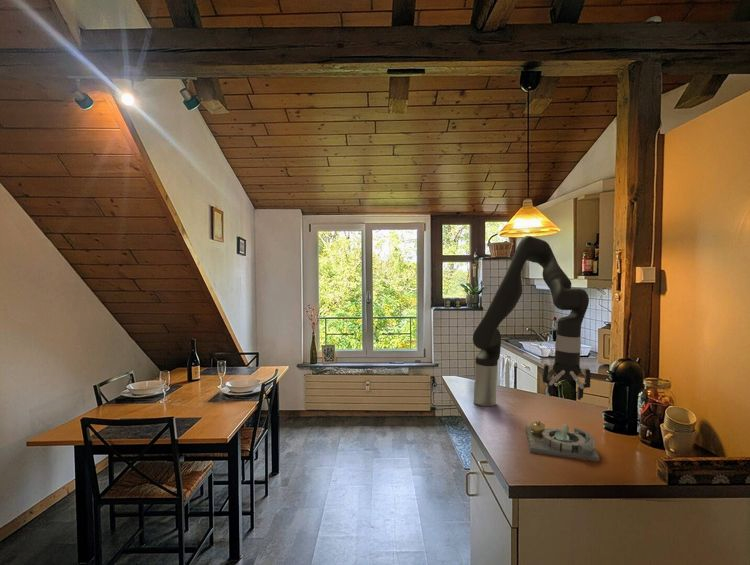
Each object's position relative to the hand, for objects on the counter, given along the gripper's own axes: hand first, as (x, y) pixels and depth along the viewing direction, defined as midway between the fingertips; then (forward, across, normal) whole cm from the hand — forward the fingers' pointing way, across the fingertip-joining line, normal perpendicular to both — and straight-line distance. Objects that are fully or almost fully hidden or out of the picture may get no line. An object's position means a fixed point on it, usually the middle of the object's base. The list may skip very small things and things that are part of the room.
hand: (564, 397), depth 136 cm
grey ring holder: (+17, -1, +1) cm, 17 cm away
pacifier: (+15, 0, 0) cm, 15 cm away
